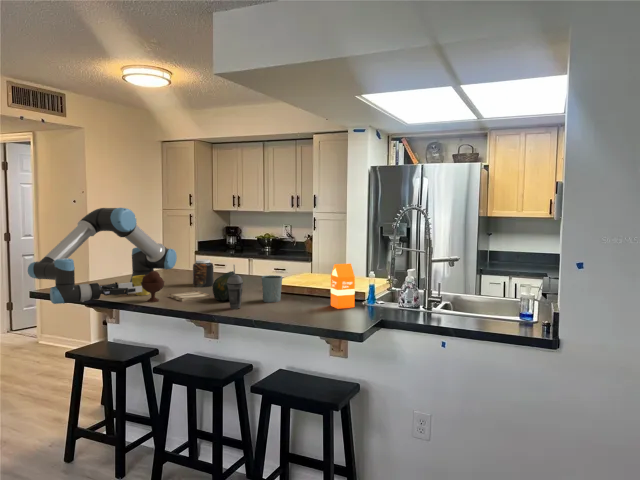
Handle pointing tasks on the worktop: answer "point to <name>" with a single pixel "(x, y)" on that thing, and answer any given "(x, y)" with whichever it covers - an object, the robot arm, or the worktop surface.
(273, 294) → the blue-grey cup
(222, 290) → the squash
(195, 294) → the trivet
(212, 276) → the jar
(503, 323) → the worktop surface
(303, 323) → the worktop surface
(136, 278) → the plant pot
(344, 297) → the orange juice
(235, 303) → the beverage cup
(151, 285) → the ice cream bowl
